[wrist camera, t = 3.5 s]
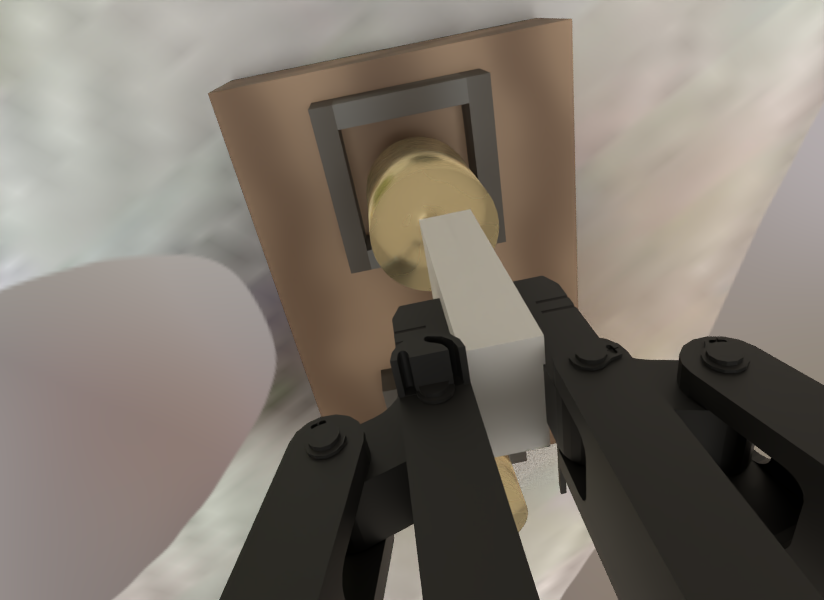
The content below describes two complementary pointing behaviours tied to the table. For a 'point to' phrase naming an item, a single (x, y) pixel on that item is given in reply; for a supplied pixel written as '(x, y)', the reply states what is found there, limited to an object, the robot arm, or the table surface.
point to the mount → (350, 165)
